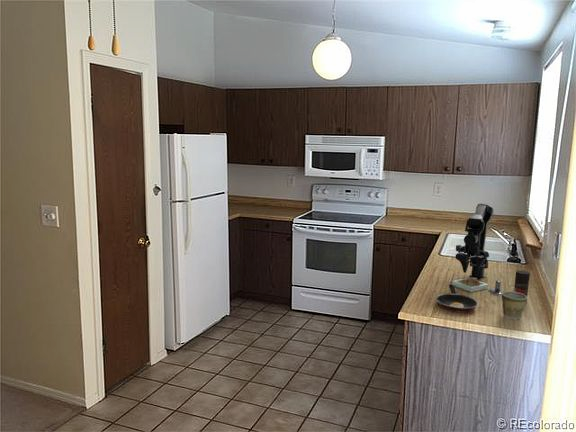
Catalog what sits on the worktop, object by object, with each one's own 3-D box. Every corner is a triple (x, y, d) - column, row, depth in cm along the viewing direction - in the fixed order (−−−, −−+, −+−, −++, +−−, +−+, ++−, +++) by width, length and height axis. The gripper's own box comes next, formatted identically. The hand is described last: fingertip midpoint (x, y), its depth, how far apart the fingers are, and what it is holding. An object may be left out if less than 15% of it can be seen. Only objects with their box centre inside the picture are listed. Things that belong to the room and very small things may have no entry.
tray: (468, 282, 255) (468, 277, 254) (487, 289, 244) (488, 284, 244) (451, 285, 249) (452, 280, 249) (471, 292, 238) (471, 287, 238)
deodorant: (509, 300, 228) (513, 270, 225) (519, 299, 230) (522, 269, 227) (519, 305, 222) (523, 274, 220) (529, 303, 224) (532, 273, 222)
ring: (469, 283, 251) (468, 277, 251) (483, 284, 243) (482, 278, 243) (460, 285, 248) (459, 279, 248) (473, 286, 240) (473, 280, 240)
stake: (495, 288, 245) (496, 277, 244) (509, 293, 238) (511, 282, 236) (484, 291, 241) (485, 280, 240) (498, 296, 234) (500, 284, 232)
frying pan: (436, 312, 212) (437, 304, 212) (430, 289, 243) (431, 282, 242) (481, 316, 208) (482, 308, 208) (469, 292, 239) (470, 285, 239)
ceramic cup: (517, 323, 201) (519, 300, 199) (495, 315, 209) (497, 294, 207) (532, 316, 209) (535, 294, 207) (510, 309, 217) (513, 288, 215)
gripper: (473, 237, 254) (470, 265, 256) (448, 240, 245) (445, 269, 247) (490, 241, 244) (488, 270, 247) (465, 245, 235) (463, 275, 238)
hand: (470, 271), depth 245 cm, fingers open, 9 cm apart
